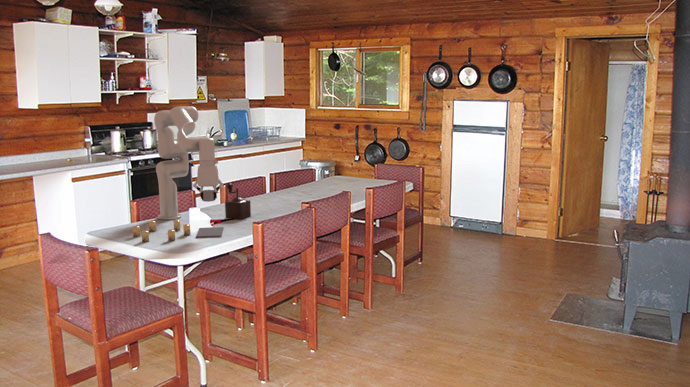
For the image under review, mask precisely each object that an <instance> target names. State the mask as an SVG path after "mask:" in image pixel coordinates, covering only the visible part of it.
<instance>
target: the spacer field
mask: <svg viewBox="0 0 690 387" xmlns="http://www.w3.org/2000/svg"><path fill="white" fill-rule="evenodd" d="M172 223H173V229H168V230H167V241H168V242H176V232H180V231H181V220H180V219H173V222H172ZM148 227H149V230H141V229H140V228H141V227H140V225H133V226H132V236H133V238H139V237H141V242H142V243H148V242H150V236H149V235H150V232H151V233H155V232H157V224H156V220H149V221H148ZM182 227H183V229H182V230H183V236H191V224H190V223H187V224H186V223H185V224H183V225H182ZM140 231H141V232H140ZM140 233H141V234H140Z"/></svg>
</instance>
